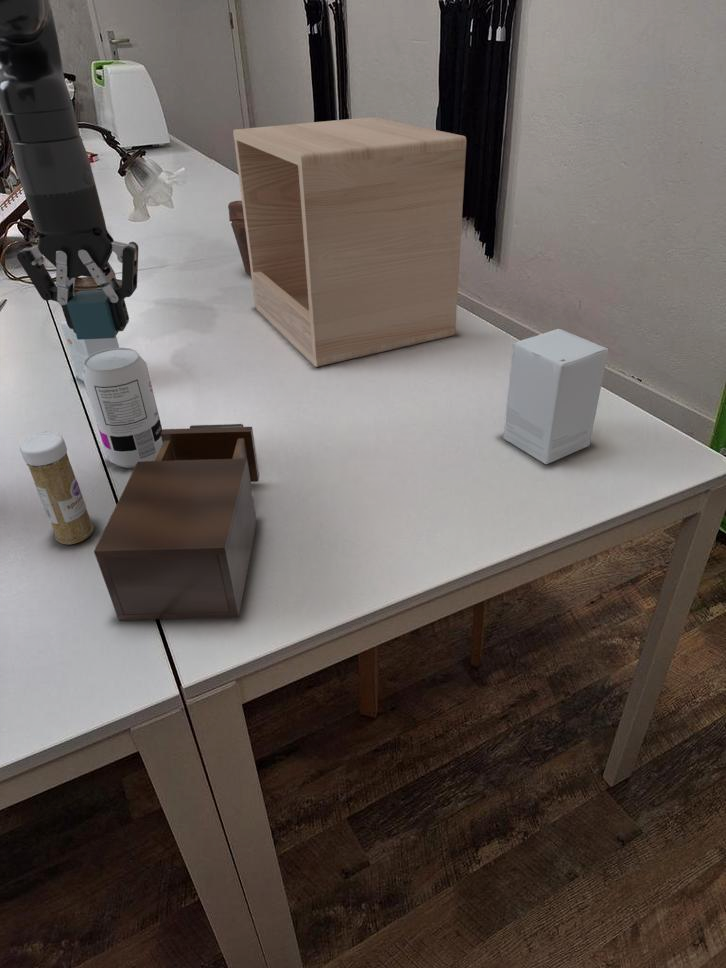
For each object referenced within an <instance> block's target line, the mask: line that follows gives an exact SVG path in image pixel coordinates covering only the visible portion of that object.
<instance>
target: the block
mask: <svg viewBox="0 0 726 968" xmlns="http://www.w3.org/2000/svg"><path fill="white" fill-rule="evenodd" d="M109 303H110V301H109V299H108V297H107V296H106V294H105V293H104V291H103V289H88V290H87V289H86V290H78V291H76V293H74V297H73V298H72V299H71V300H70V301H69V302H68V303H67V307H68V310H69V314H70V317H71V320H72V323H73V326H74V330H75V333H76V336H77V339H78V340H81V339H104V338H115V336H116V337H117V335H118V334H119V333H120V331H116V329H115V325H114V321H113V318H112V314H111V310H110V307H109Z"/></svg>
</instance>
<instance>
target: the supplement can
mask: <svg viewBox="0 0 726 968" xmlns="http://www.w3.org/2000/svg"><path fill="white" fill-rule="evenodd" d="M82 377H83V380H84V381H83V383H84V386H85V390H86V393H87V396H88V399H89V403H90V406H91V410H92V412H93V416H94V418H95V422H96V426H97V429H98V432H99V435H100V439H101V441H102V445H103V448H104V451H105V454H106V459H108V461H109V462H110V463H112V464H114V465H116V466H118V467H121V468H128V469H131V468H132V469H134V468H135V466H136V464H137V462H143V461H155V460H156V457H157V455H158V453H159V451H160V449H161V446H162V444H163V442H162V438H161V432H162V430H163V426H162V422H161V419H160V414H159V410H158V406H157V402H156V401H157V400H156V398H155V397H156V396H155V393H154V389H153V385H152V381H151V377H150V372H149V368H148V364H147V362H146V361H145V359H143V358H142V356H141V355H140V353H139V351H138V350H136V349H133V348H131V347H119V348H112V349H106V350H102V351H99V352H96V353H94V354H92V355H90V356H89V357H88V358H86V359H85V361H84V370H83V374H82Z"/></svg>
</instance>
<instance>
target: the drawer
mask: <svg viewBox="0 0 726 968" xmlns="http://www.w3.org/2000/svg"><path fill="white" fill-rule="evenodd" d="M253 429H254V428H253V426H244V424H243V423H233V424H232V423H228V424H227V423H225V424H200V425H199V424H198V425H197V424H193V425H189V428H162V432H161V438H162V442H163V444H162V446H161V449H160V451H159V453H158V455H157V457H156V460H155V461H176V460H210V459H244V458H246V459H247V465H248V471H249V477H250V483H251V484H252V483H258V482H259V481H260V471H259V465H258V457H257V449H256V442H255V435H254V430H253Z"/></svg>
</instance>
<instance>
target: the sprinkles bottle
mask: <svg viewBox="0 0 726 968" xmlns="http://www.w3.org/2000/svg"><path fill="white" fill-rule="evenodd" d="M19 451H20V454H21V456H22V459H23V461H24V463H25V464H26V466H27V467H28V469H29V472H30V474H31V477H32V479H33V482H34V486H35V489H36V491H37V494H38V497H39V499H40V502H41V505H42V507H43V509H44V512H45V514H46V517H47V519H48V521H49V522H50V525H51V527H52V530H53V533H54V537H55V540H56V541H57V542H58V543H60V544H62V545H69V546H70V545H71V546H72V545H76V544H79V543H81V542H84V541H85V540H87V539H88V538H89V537H90V536H92V534H93V532H95V529H94V528H95V527H94V524H93V522H92V520H91V518H90V515H89V512H88V510H87V505H86V502H85V499H84V496H83V493H82V490H81V488H80V484H79V482H78V479H77V478H76V475H75V472H74V469H73V467H72V464H71V461H70V458H69V455H68V447H67V444H66V442H65V439H64V437H63V435H62V434H60V432H56V431H44V432H39V433H35V434H32V435H30V436H28V437H26V438H25V439H24V440H23V441H22V442H21V443H20V444H19Z"/></svg>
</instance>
